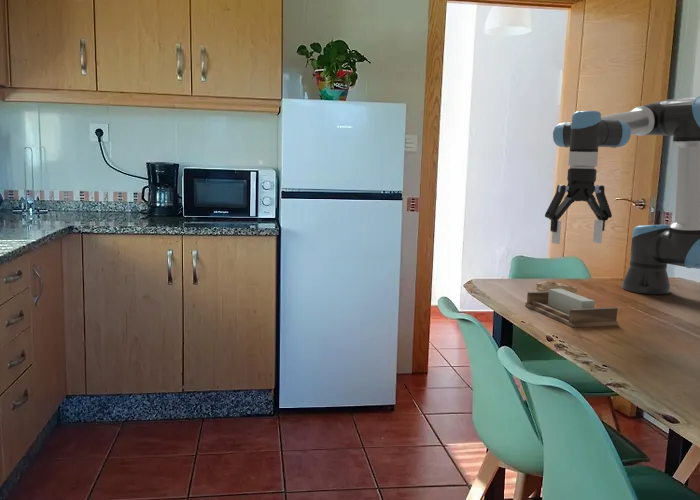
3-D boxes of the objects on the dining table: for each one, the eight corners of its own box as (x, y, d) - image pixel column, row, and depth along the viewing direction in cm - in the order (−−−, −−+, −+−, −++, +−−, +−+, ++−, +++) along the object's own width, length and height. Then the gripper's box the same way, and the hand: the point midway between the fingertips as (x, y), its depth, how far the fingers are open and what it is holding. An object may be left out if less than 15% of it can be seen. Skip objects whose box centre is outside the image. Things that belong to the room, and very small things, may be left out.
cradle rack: (525, 305, 186) (526, 291, 185) (565, 304, 190) (566, 290, 189) (573, 327, 163) (574, 310, 162) (618, 325, 167) (619, 308, 166)
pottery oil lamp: (578, 300, 194) (572, 282, 191) (540, 309, 199) (533, 291, 196) (577, 286, 201) (571, 268, 199) (540, 294, 206) (534, 277, 204)
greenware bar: (559, 304, 184) (560, 288, 184) (593, 318, 169) (594, 300, 168) (547, 305, 183) (548, 288, 183) (580, 319, 168) (582, 301, 167)
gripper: (611, 168, 178) (605, 240, 182) (535, 166, 172) (530, 241, 175) (629, 168, 171) (622, 244, 174) (550, 167, 165) (545, 245, 168)
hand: (576, 243), depth 175 cm, fingers open, 13 cm apart
